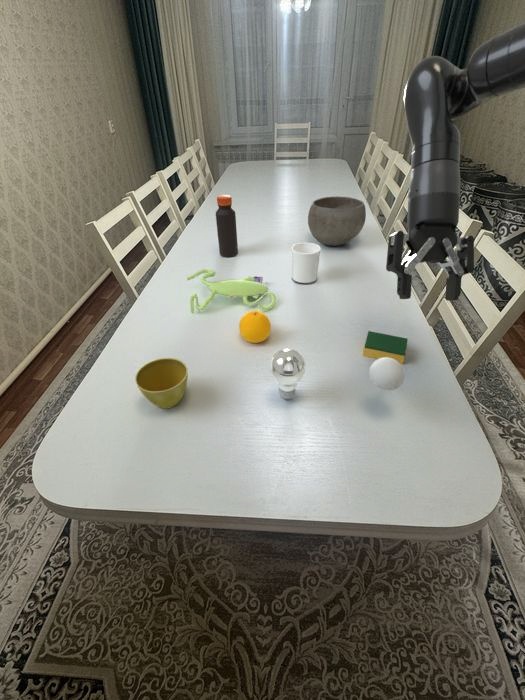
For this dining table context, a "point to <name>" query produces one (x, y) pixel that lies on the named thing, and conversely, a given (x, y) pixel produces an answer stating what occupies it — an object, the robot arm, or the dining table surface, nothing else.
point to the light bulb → (287, 371)
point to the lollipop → (387, 373)
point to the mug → (305, 262)
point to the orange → (255, 326)
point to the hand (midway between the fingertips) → (428, 299)
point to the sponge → (385, 346)
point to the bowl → (336, 219)
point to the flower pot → (163, 381)
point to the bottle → (226, 227)
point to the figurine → (233, 289)
